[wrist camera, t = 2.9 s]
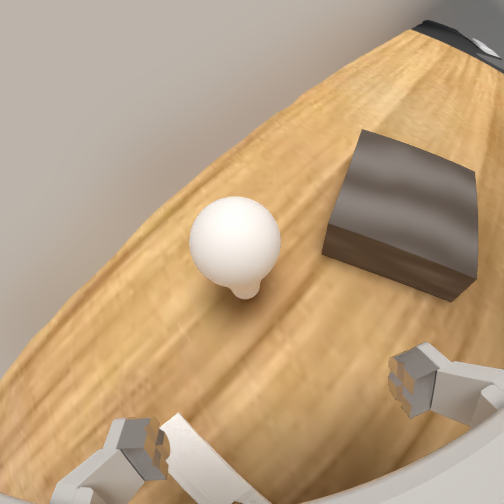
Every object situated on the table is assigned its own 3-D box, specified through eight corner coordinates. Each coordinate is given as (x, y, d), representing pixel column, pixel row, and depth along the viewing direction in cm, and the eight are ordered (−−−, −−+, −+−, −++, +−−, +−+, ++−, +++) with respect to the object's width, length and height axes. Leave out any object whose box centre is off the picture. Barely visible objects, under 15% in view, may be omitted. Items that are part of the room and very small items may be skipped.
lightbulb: (227, 253, 30) (203, 171, 20) (288, 269, 28) (292, 187, 19) (202, 310, 27) (161, 245, 18) (268, 330, 26) (261, 272, 16)
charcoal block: (355, 161, 35) (362, 129, 31) (458, 199, 31) (474, 171, 27) (321, 254, 29) (328, 223, 25) (451, 301, 25) (476, 279, 21)
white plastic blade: (261, 561, 15) (260, 566, 14) (141, 444, 21) (136, 445, 20) (307, 529, 16) (308, 534, 16) (182, 411, 23) (178, 411, 22)
